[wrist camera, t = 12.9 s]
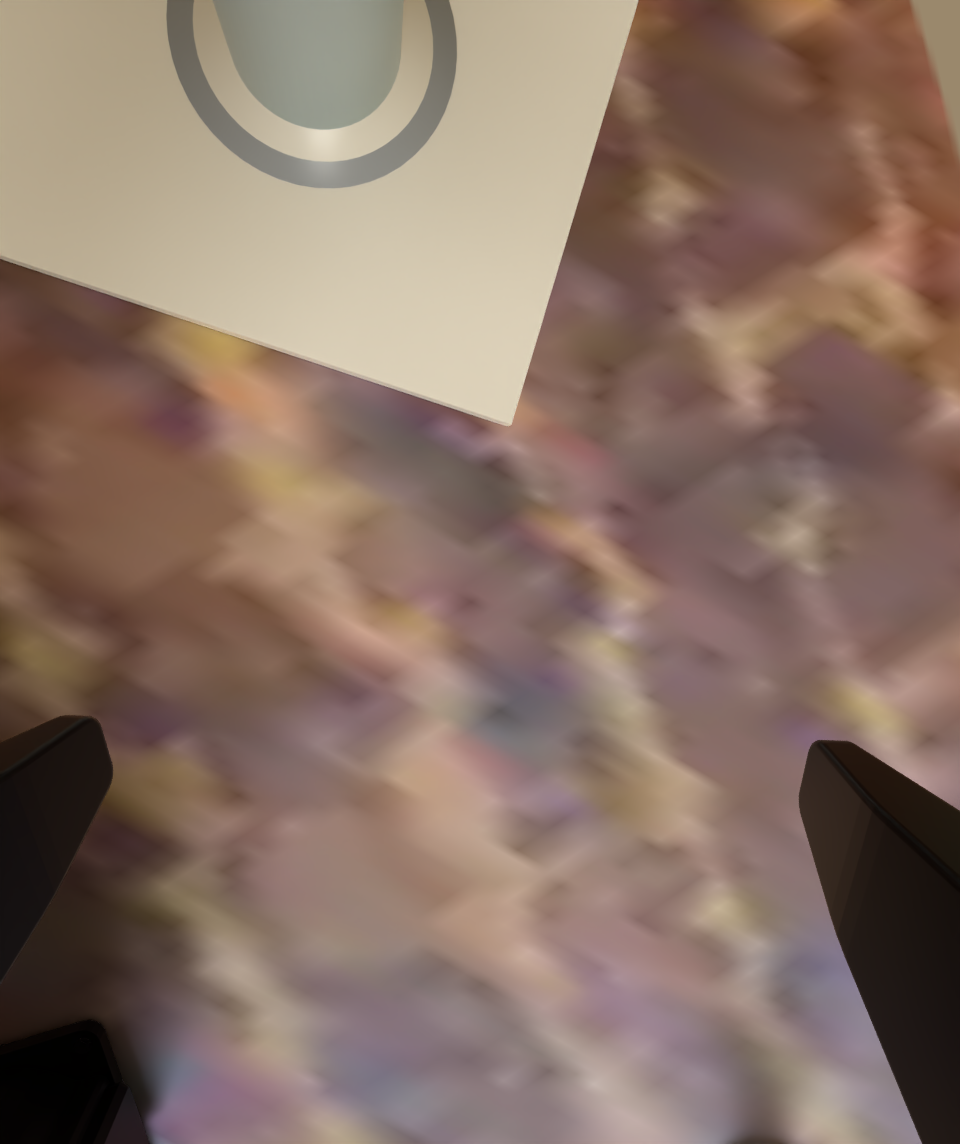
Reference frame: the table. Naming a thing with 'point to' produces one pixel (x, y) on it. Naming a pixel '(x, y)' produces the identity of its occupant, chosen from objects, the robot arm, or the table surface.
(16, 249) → the card
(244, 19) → the tube
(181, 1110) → the table surface
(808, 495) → the table surface
